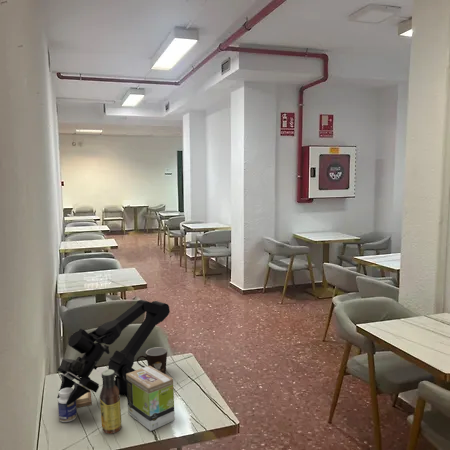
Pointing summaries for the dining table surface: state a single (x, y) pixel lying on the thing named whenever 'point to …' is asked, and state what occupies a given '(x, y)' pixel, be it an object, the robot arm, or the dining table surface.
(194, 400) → the dining table surface
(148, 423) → the tea box
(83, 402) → the stand
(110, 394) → the sauce bottle
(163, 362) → the coffee mug
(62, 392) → the pill bottle
